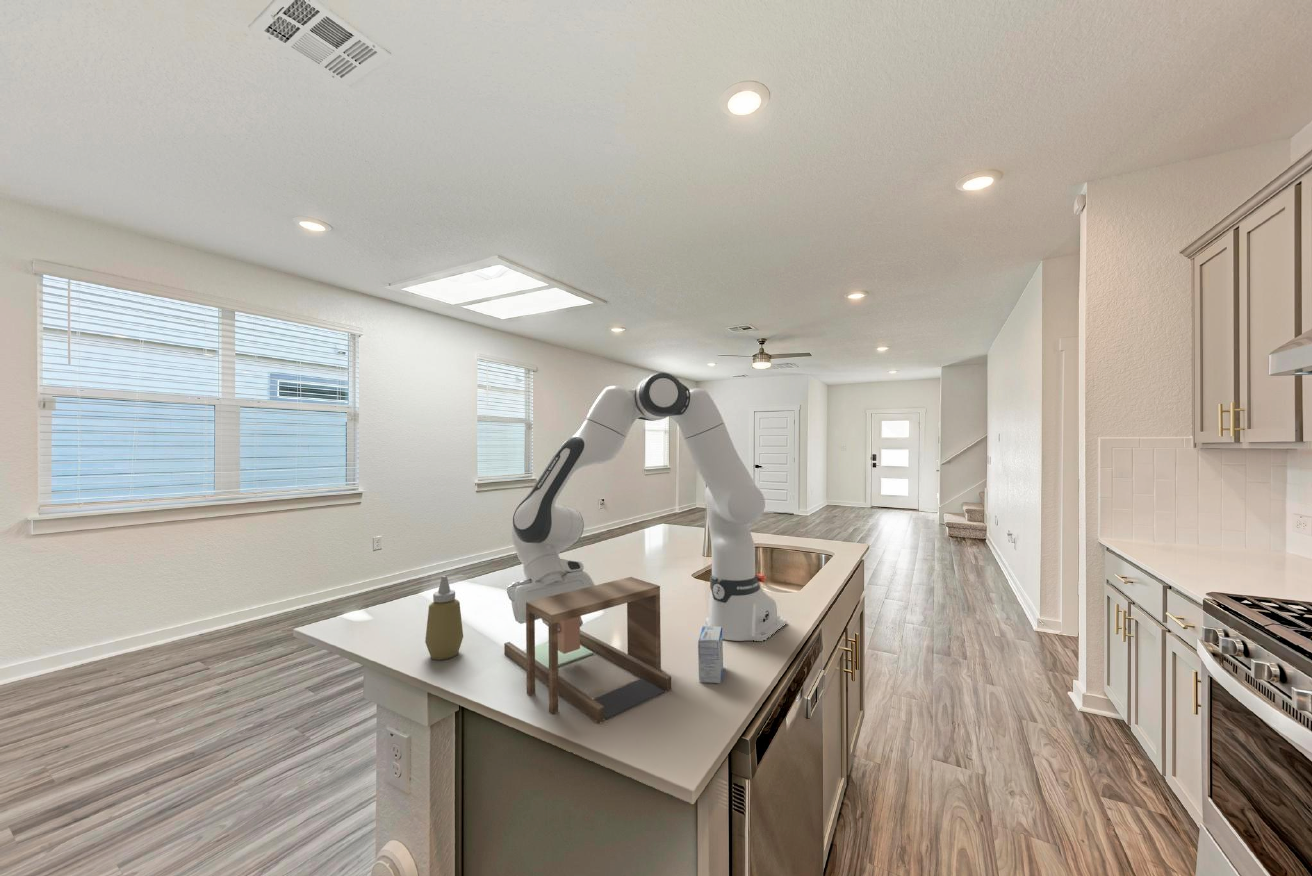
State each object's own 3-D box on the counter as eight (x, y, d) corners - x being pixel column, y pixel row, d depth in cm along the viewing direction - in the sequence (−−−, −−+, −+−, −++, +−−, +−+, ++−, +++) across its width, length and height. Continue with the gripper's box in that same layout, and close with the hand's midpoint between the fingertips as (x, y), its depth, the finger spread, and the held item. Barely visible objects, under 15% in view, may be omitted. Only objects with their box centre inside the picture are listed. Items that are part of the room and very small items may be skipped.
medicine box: (720, 684, 97) (720, 640, 97) (698, 682, 97) (697, 639, 98) (723, 666, 104) (722, 626, 104) (702, 665, 105) (702, 625, 105)
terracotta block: (570, 643, 110) (570, 607, 110) (579, 648, 107) (579, 612, 107) (554, 648, 107) (554, 611, 108) (564, 653, 104) (563, 616, 105)
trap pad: (642, 679, 99) (642, 678, 99) (665, 692, 94) (665, 690, 94) (584, 704, 90) (584, 702, 90) (606, 720, 84) (606, 718, 84)
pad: (566, 638, 120) (566, 637, 120) (593, 654, 111) (593, 652, 111) (516, 654, 112) (516, 652, 112) (542, 672, 103) (542, 670, 103)
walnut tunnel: (583, 629, 126) (583, 561, 126) (687, 682, 98) (686, 594, 98) (485, 659, 109) (485, 581, 109) (576, 734, 80) (575, 627, 81)
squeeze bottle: (471, 651, 114) (470, 574, 114) (442, 665, 106) (442, 583, 107) (446, 645, 117) (445, 570, 117) (417, 659, 110) (416, 579, 110)
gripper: (508, 576, 106) (529, 634, 98) (587, 561, 119) (611, 610, 112) (500, 592, 109) (520, 649, 102) (578, 575, 123) (600, 625, 115)
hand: (568, 629), depth 107 cm, fingers closed on terracotta block, 4 cm apart
